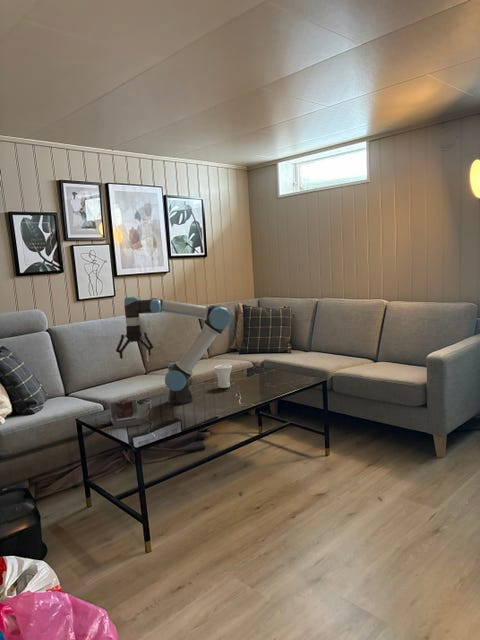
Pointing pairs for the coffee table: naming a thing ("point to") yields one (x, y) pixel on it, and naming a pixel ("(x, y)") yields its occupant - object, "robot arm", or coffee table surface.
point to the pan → (126, 417)
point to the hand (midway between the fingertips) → (135, 362)
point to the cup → (223, 375)
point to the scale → (124, 422)
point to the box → (124, 408)
